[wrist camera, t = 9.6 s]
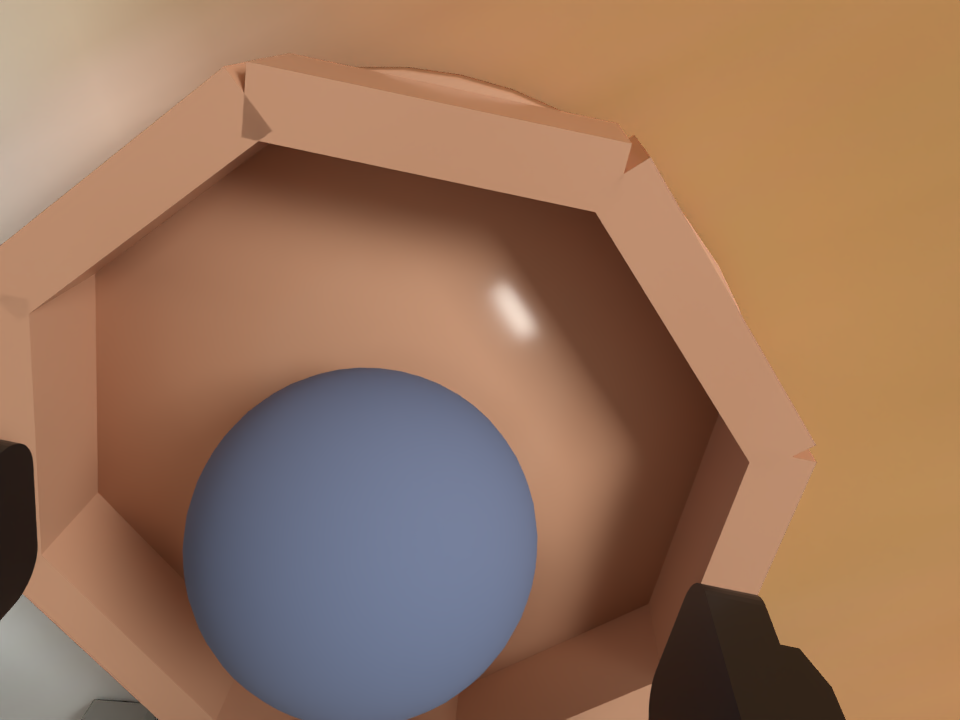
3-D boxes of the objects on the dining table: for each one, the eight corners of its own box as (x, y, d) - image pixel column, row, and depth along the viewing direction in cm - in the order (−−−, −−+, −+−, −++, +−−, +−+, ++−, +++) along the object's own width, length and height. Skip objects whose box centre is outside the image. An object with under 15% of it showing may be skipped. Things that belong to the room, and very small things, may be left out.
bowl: (860, 159, 11) (943, 200, 8) (636, 725, 15) (652, 845, 13) (55, -12, 10) (-74, -17, 8) (74, 613, 15) (-5, 717, 13)
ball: (568, 352, 11) (585, 542, 7) (504, 588, 13) (490, 846, 9) (264, 288, 11) (111, 447, 7) (242, 536, 13) (112, 772, 9)
